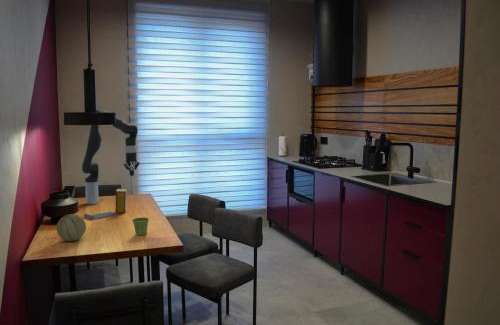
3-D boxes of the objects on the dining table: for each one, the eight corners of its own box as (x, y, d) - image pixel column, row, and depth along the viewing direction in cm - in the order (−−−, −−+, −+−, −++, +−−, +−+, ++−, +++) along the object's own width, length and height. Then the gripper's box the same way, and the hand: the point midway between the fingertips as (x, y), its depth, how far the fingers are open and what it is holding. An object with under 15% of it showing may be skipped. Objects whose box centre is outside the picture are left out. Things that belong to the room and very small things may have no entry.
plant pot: (141, 237, 231) (140, 222, 230) (129, 235, 236) (128, 220, 235) (153, 233, 240) (152, 218, 239) (140, 231, 244) (140, 216, 243)
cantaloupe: (92, 237, 231) (90, 211, 230) (75, 245, 217) (74, 217, 215) (68, 236, 234) (67, 210, 233) (51, 243, 220) (49, 216, 219)
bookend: (84, 217, 279) (83, 213, 279) (109, 212, 294) (109, 208, 294) (93, 219, 272) (92, 216, 271) (119, 214, 286) (119, 211, 286)
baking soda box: (125, 213, 290) (125, 190, 288) (115, 213, 288) (116, 190, 287) (126, 210, 299) (126, 188, 297) (116, 210, 298) (117, 188, 296)
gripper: (135, 151, 304) (136, 174, 306) (119, 152, 294) (120, 176, 296) (141, 151, 299) (142, 175, 301) (125, 152, 289) (126, 177, 291)
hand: (131, 175), depth 298 cm, fingers closed
